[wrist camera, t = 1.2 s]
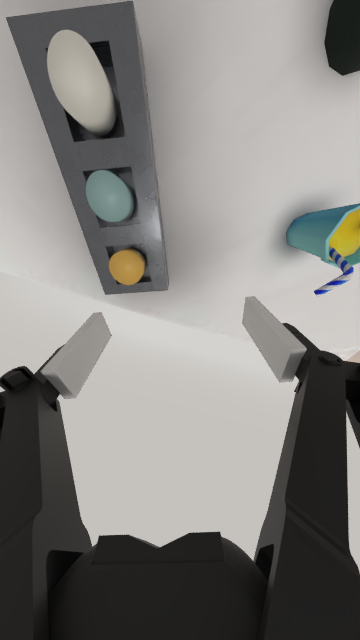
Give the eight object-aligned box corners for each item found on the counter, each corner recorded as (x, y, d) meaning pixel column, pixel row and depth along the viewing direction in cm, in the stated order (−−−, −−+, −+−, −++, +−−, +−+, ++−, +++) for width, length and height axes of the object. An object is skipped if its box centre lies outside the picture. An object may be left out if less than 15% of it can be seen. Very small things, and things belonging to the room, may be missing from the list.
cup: (273, 278, 32) (334, 316, 20) (251, 252, 30) (305, 277, 17) (346, 217, 27) (496, 215, 14) (327, 177, 24) (492, 132, 11)
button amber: (112, 249, 26) (104, 253, 23) (142, 246, 26) (138, 250, 23) (120, 279, 29) (114, 286, 26) (148, 277, 29) (145, 283, 26)
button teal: (92, 178, 22) (78, 172, 19) (129, 174, 21) (121, 167, 18) (105, 222, 24) (94, 223, 21) (137, 219, 24) (132, 220, 21)
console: (38, 55, 18) (5, 17, 15) (141, 42, 18) (132, 0, 14) (112, 286, 33) (105, 294, 30) (168, 282, 33) (167, 290, 29)
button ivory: (60, 66, 17) (35, 33, 14) (108, 60, 16) (93, 25, 14) (80, 137, 19) (63, 123, 17) (122, 133, 19) (111, 118, 16)
